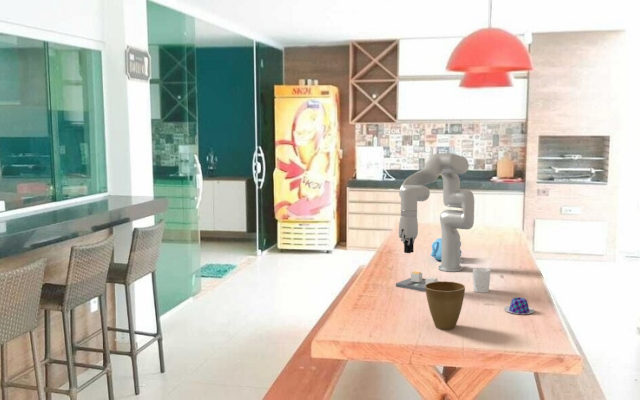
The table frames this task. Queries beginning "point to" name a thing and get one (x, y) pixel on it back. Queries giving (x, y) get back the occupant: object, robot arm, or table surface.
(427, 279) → the block
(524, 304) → the purple patterned hat
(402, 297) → the table surface
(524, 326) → the table surface
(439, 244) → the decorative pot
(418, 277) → the block
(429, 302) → the plant pot
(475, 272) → the white cup
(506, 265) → the table surface
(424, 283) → the breaker panel
